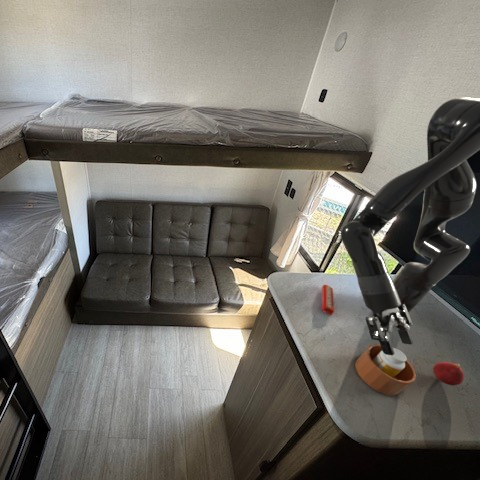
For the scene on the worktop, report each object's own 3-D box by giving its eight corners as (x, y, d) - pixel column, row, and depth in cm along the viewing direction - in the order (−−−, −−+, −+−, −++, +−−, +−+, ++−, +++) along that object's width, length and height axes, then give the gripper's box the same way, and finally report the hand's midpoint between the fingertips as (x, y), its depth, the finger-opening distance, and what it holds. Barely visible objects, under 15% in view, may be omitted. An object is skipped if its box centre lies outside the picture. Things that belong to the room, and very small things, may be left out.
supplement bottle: (393, 381, 72) (416, 362, 67) (378, 385, 71) (399, 366, 65) (376, 363, 77) (395, 343, 71) (361, 366, 76) (380, 346, 70)
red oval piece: (457, 392, 71) (479, 378, 67) (435, 387, 72) (455, 373, 68) (443, 372, 76) (462, 357, 71) (422, 368, 77) (440, 353, 72)
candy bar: (331, 317, 91) (335, 312, 89) (320, 313, 92) (324, 308, 90) (330, 289, 103) (333, 284, 101) (320, 286, 104) (323, 281, 102)
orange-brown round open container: (369, 352, 80) (381, 339, 76) (408, 386, 72) (424, 373, 68) (346, 364, 76) (358, 351, 72) (385, 402, 68) (401, 389, 64)
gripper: (377, 296, 64) (400, 362, 62) (408, 282, 69) (431, 342, 67) (347, 296, 71) (367, 355, 69) (378, 283, 76) (397, 338, 74)
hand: (398, 348), depth 68 cm, fingers open, 8 cm apart
